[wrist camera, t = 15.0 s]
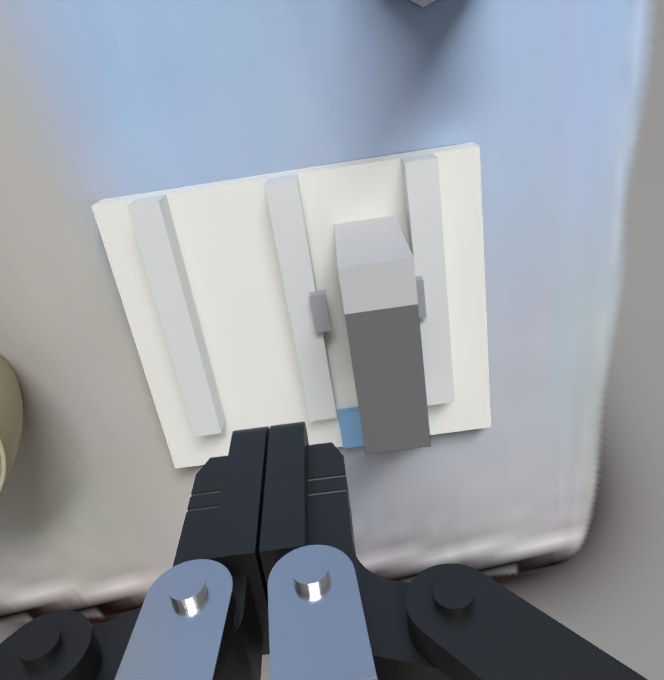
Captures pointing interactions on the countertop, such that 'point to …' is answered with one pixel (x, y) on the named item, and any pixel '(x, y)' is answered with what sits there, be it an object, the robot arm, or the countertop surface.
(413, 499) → the countertop surface
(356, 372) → the grey rectangular block
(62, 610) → the robot arm
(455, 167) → the board
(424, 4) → the flask
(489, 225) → the countertop surface
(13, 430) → the flower pot
